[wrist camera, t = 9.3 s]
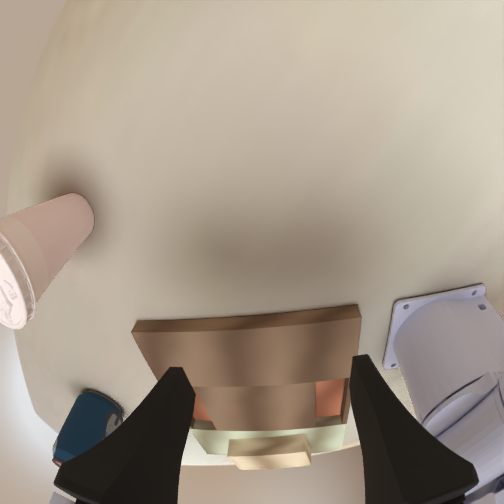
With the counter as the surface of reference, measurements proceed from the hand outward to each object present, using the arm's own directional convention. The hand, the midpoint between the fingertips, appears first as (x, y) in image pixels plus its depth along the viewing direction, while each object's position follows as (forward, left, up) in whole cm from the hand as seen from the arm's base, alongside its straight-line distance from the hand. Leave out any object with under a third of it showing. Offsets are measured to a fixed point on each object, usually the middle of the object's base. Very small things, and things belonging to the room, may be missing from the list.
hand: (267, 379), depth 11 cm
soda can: (+25, +19, -10) cm, 33 cm away
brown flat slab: (+3, +16, -9) cm, 19 cm away
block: (+3, +24, -8) cm, 26 cm away
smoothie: (+14, -6, -10) cm, 18 cm away
